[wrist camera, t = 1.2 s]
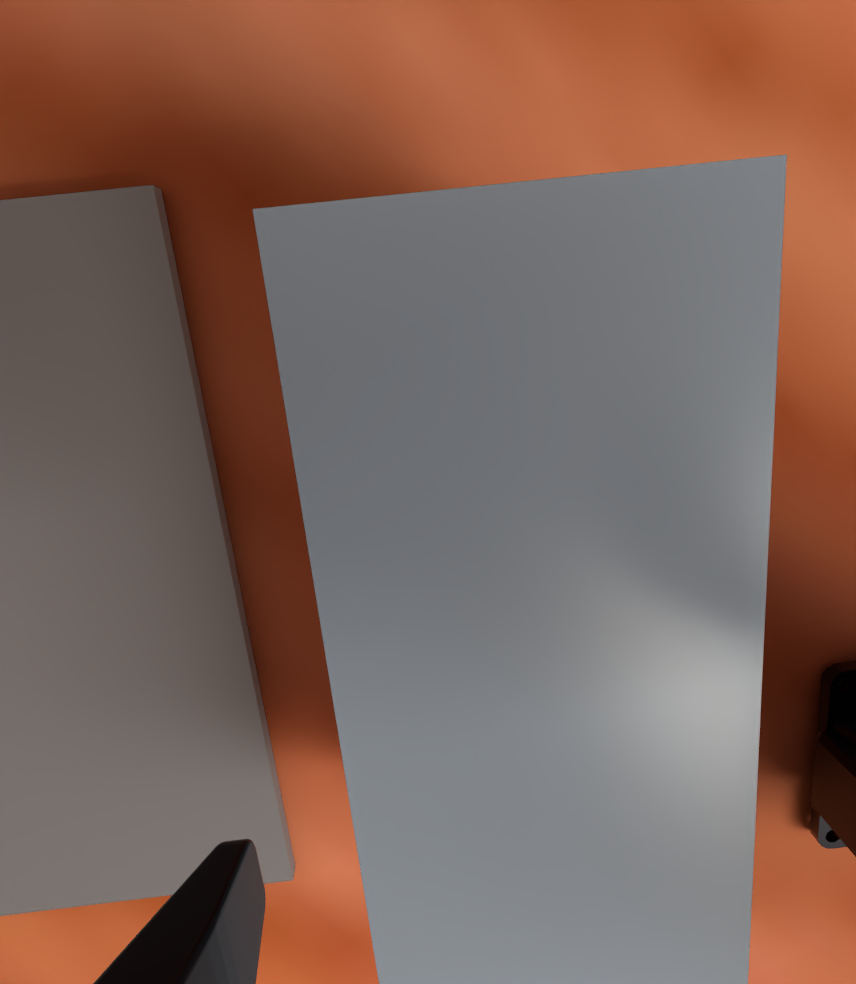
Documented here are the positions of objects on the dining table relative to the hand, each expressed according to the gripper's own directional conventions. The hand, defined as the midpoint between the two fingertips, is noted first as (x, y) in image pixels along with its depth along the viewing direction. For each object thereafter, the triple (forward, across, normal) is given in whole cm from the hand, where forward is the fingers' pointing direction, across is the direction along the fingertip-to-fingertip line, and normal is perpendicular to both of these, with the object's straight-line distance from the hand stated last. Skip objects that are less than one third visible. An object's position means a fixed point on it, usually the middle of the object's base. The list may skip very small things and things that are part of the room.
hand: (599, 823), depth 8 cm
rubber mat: (+10, +12, 0) cm, 16 cm away
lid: (+4, 0, 0) cm, 4 cm away
